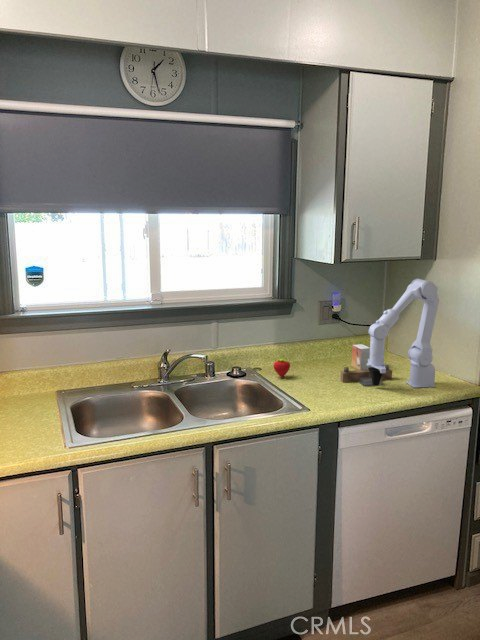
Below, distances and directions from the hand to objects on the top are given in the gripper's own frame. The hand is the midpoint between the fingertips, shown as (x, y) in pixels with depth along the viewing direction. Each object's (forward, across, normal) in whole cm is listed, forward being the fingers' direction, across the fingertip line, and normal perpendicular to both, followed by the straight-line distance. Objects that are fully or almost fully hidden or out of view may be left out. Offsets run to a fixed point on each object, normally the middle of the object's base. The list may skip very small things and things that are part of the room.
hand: (375, 385), depth 219 cm
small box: (+2, -28, +4) cm, 28 cm away
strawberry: (+1, -20, -35) cm, 41 cm away
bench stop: (+1, -11, 0) cm, 11 cm away
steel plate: (+2, -6, 0) cm, 6 cm away
